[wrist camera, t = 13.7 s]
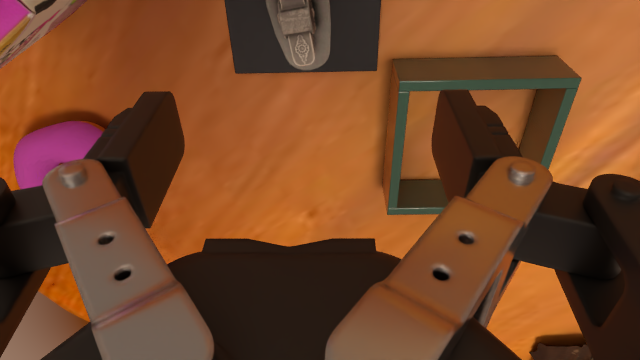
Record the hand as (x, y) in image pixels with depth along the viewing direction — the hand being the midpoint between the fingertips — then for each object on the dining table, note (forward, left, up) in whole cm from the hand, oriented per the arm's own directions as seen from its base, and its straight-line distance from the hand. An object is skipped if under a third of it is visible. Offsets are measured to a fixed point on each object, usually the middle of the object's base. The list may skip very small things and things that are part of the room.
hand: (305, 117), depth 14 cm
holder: (+13, +12, -21) cm, 27 cm away
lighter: (0, -1, -21) cm, 21 cm away
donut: (+16, -21, -21) cm, 34 cm away
